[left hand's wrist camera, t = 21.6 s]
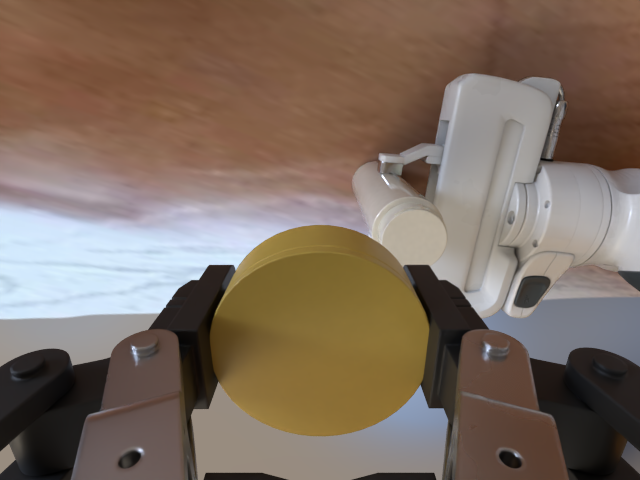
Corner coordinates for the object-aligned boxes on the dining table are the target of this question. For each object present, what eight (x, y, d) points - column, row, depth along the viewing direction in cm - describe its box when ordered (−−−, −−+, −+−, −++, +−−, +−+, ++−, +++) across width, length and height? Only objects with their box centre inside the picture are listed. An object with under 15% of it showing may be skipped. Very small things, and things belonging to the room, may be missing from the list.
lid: (187, 302, 11) (161, 342, 9) (333, 182, 9) (336, 201, 8) (310, 413, 12) (308, 466, 10) (450, 322, 11) (475, 365, 9)
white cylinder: (403, 191, 37) (466, 254, 21) (364, 212, 38) (397, 289, 22) (383, 152, 36) (433, 188, 20) (343, 175, 37) (361, 228, 21)
